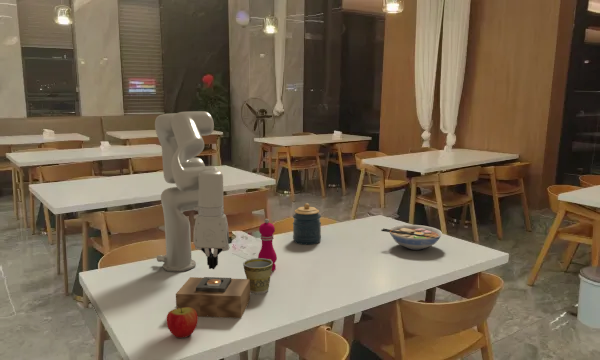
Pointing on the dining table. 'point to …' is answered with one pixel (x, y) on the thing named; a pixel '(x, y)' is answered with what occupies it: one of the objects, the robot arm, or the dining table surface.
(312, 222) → the canister
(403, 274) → the dining table surface
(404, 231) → the ramen bowl
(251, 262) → the ceramic cup
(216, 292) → the socket block
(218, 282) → the peg
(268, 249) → the pepper mill
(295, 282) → the dining table surface
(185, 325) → the apple
